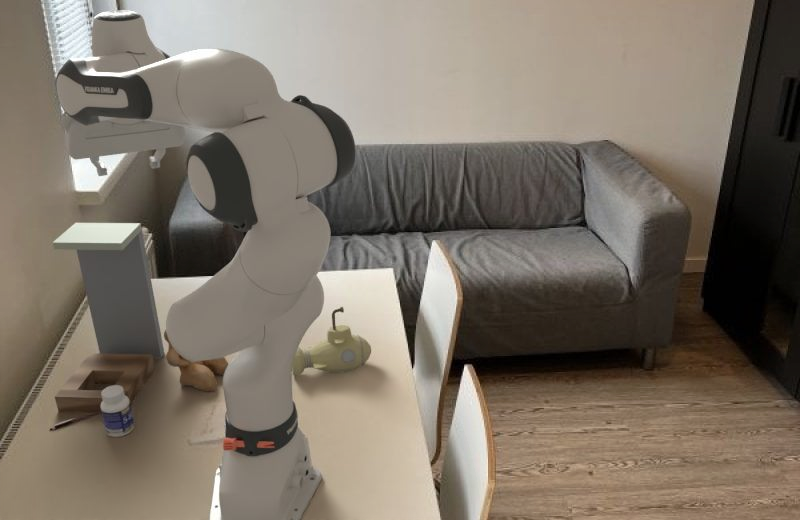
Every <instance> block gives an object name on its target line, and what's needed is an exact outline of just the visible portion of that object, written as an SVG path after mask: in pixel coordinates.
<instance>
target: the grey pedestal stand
mask: <svg viewBox="0 0 800 520" xmlns="http://www.w3.org/2000/svg"><path fill="white" fill-rule="evenodd" d="M52 246H53V250H71V251H72V250H73V251H76V254H77V258H78V263H79V267H80V272H81V276H82V281H83V285H84V289H85V294H86V299H87V302H88V307H89V312H90V315H91V320H92V324H93V325H92V326H93V329H94V333H95V338H96V342H97V346H98V351H99V353H100V354H146V355H152V356H153V359H162V358H163V356H164V355H165V349H164V343H163V339H162V333H161V332H162V331H161V328H160V322H159V317H158V310H157V306H156V300H155V293H154V289H153V283H152V278H151V272H150V267H149V261H148V257H147V251H146V245H145V240H144V235H143V229H142V223H141V222H140V223H139V222H138V223H137V222H136V223H135V222H74V224H72V225H71V226H70V227H69V228H68V229H66V230H65V231H64V232H63V233H62V234H61V235H60V236H58V237H57V238H55V240H54V241H52Z"/></svg>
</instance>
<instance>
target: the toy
mask: <svg viewBox="0 0 800 520" xmlns="http://www.w3.org/2000/svg"><path fill="white" fill-rule="evenodd" d="M344 309H345V308H344V306H340V307H339V308H336V309H334V310H333V311H332V313H331V323H332V326H330V328H329V329H328V330H327V333H326V336H327V338H326V339H324V340H322V341H320V342H318V343H316V344H314V345H313V346H311V347H308V349H301V348H300V347H299V346H298V349H297V351H296V354H295V357H294V361H293V365H292V377H293V376H297V375H301V374H303V372H305V371H304V370H305V369H308V368H310V369H311V368H313V369H315V370H318V371H323V372H327V373H345V372H348V371H352V370H356V369H358V368H360V367H362V366H363V365H364V364H366V362H368V360H369V359H370V357H371V354H372V345H371V343H369V342H368V341H367V339H366V338H363V337H362V336H361V335H359V334H357V335H355V334H352V330H351V327H350V326H349V325H343V324H342V325H340V324H339V325H336V314H337V313H340V312H341V313H344V311H345V310H344Z"/></svg>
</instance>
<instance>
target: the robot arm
mask: <svg viewBox="0 0 800 520" xmlns="http://www.w3.org/2000/svg"><path fill="white" fill-rule="evenodd" d="M91 55H92V57H87V58H86V57H80V58H79V57H78V58H68V60H66V62H65V63H64V64H63V65H62V66H61V68H60V69H59V71H58V73H57V74H56V78H55V89H56V95H57V98H58V101H59V103H60V106H61V108H62V109H63V111H64V113H62V114H61V118H60V120H61V121H60V122H61V128H62V129H63V130H64V131H65V133H64V141H65V149H66V151H67V154H68V156H69V157H70V158H72V159H73V160H84V159H90V163H91V164H92V165H93V166H94V167H95V169H96V174H97V175H98V177H104V176H108V172H107V171H108V168H107V165H106V164H105V162H100V157H105V156H107V157H108V156H113V155H115V156H116V155H121V154H129V153H137V152H138V153H139V152H145V151H146V152H147V151H153V150H154V151H155V150H156V151H155V153H154V154H153V155H151V156H149V158H148V159H149V165H150V168H151V169H159V168H161V160H162V159H163V157H164V156H165V154H166V153H167V152H166V151H167V149H168V148H177V147H182V146H183V144H184V143H185V141H186V131H185V129H186V128H191V129H195V130H199V131H205V132H209V133H210V132H211V133H210V134H208V135H206V136H204V137H203V138H201V139H200V140H198V141H196V142H195V143H194V144H192V145H191V146H190V148H189V150H188V154H187V157H186V162H185V163H186V165H185V166H186V175H187V180H188V183H189V186H190V189H191V192H192V193H193V196H194V198H195V200H196V201H197V203H198V204H199V206H200V207H201V208H202V210H204V211H205V212H206V213H207V214H209V215H210V216H212V217H213V218H214V219H216V220H217V221H219V222H221V223H225V224H228V226H230V227H231V228H232V229H234V230H236V231H237V232H245V233H246V234H245V236H244V238H243V240H242V241H241V244H240V245H239V248H238V249H237V251H236V253H235V255H234V257H233V258H232V260H231V261H230V262H229V263H228V264H226V265H225V266H224V267H223V268H221V269H220V270H219V271H218V272H216V273H215V274H214V275H212V277H211V278H209V279H208V280H207V281H206V282H204V283H203V284H202V285H201V286H199V287H198V288H197V289H195V290H193V291H192V292H191V293H189V294H187V295H186V296H184V297H182V298H180V299H178V300H177V301H175V302H174V303H172V304H171V306H170V308H169V310H168V313H167V316H166V321H165V330H166V332H167V336H168V339H169V342H170V344H171V346H172V347H173V348H174V350H175V351H176V352H177V353H178V354H179V355H180V356H182V357H183V358H185V359H186V360H188V361H191V362H197V361H204V360H211V359H216V358H221V357H225V358H226V357H227V356H231V355H233V354H236V353H237V354H236V355H235V356H234V357H233V359H232V360H231V361H230V362H228V366H227V368H226V370H225V373H224V375H222V390H223V396H224V403H225V409H226V412H225V415H224V434H223V435H222V437H223V441H222V443H223V444H222V456H221V463H220V464H219V466H218V468H217V469H216V470H215V475H214V476H215V477H214V482H213V487H212V488H213V490H212V495H211V501H210V502H211V503H210V508H209V509H210V510H209V516H208V520H301V518H302V516H303V514H304V513H305V511H306V509H307V507H308V505H309V503H310V502H311V500H312V497H313V496H314V494H315V492H316V490H317V489H318V487H319V485H320V482H321V481H322V478H323V475H322V471H321V470H320V469H319V468H317V467H316V466H314V465H313V462H312V456H311V450H310V449H311V448H310V445H309V439H308V436H307V435H306V434H304V433H303V432H302V430H301V429H300V427H298V425H299V422H298V420H299V419H298V418H299V416H298V410H297V408H296V407H297V406H296V404H295V402H294V400H293V399H294V398H293V384H292V383H293V380H292V379H293V378H292V377H293V374H292V365H293V361H294V357H295V354H296V351H297V349H298V347H299V346H300V344H301V343H302V341H303V338H304V336H305V334H306V333H307V331H308V330H309V328H310V327H311V326H312V324H313V323H314V322H315V321H316V320H317V319H318V318H319V317H320V315H321V313H322V311H323V309H324V304H325V291H324V287H323V285H322V284H323V283H322V282H321V280H320V278H319V276H318V274H319V272H320V270H321V268H322V266H323V264H324V261H325V259H326V256H327V254H328V251H329V246H330V242H331V236H332V235H331V233H332V232H331V226H330V223H329V220H328V218H327V217H326V215H325V213H324V212H323V211H322V210H321V209H320V208H319V207H318V206H317V205H315V204H314V203H312V202H310V201H308V196H309V195H311V194H313V193H315V192H317V191H320V190H321V189H323V188H330V187H332V186H335V185H336V184H337V183H339V182H340V181H342V180H344V179H345V178H346V177H347V176H348V175H349V174H350V173H351V172H352V171H353V169H354V166H355V161H356V154H357V153H356V151H357V150H356V149H357V148H356V142H355V138H354V135H353V131H352V130H351V128H350V125H348V123H347V121H346V120H345V119H343V117H342V116H340V115H339V114H338V113H337V112H335V111H334V110H332V109H331V108H329V107H327V106H326V105H322V104H318V103H314V102H312V101H311V100H310V99H309V97H307V96H306V95H301V94H298V95H296V96H294V97H293V98H292V99H291V100H290V101H288V100H285V99H284V98H283V97H282V96H281V95H280V93H279V90H278V87H277V84H276V80H275V78H274V76H273V74H272V72H271V71H270V69H268V68H267V67H266V65H264V63H261V62H260V61H258V60H257V59H255V58H254V57H251V56H249V55H246V54H245V53H240V52H238V51H234V50H229V49H224V48H200V49H195V50H190V51H187V52H184V53H180V54H178V55H175V56H170V55H168V54H167V53H166V52H164V51H163V50H162V49H160V48H158V47H156V45H155V44H154V42H153V41H152V40H151V38H150V36H149V33H148V31H147V27H146V23H145V19H144V17H143V16H142V15H141V14H140V13H138V12H136V11H132V10H126V9H125V10H124V9H119V10H109V11H108V10H107V11H103V12H101V13H99V14H97V15H95V16H94V18H93V22H92V28H91Z"/></svg>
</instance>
